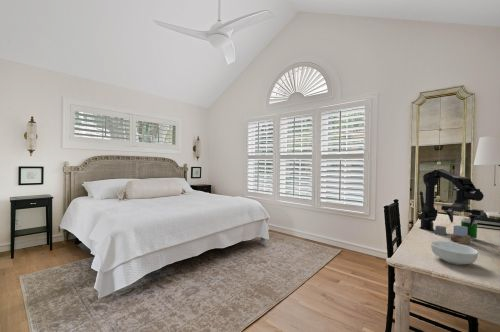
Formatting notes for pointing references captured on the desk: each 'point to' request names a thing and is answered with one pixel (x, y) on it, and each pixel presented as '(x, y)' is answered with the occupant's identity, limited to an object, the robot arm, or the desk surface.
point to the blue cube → (460, 230)
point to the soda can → (470, 228)
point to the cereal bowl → (454, 252)
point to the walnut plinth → (460, 239)
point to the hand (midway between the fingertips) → (461, 224)
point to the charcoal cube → (440, 230)
